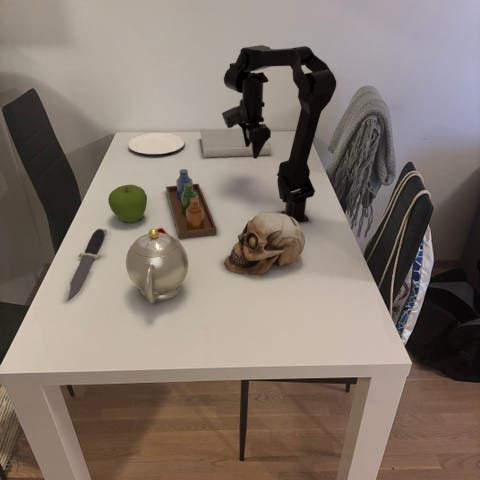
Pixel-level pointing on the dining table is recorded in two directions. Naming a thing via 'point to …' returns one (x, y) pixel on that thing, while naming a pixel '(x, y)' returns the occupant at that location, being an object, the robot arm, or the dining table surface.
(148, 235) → the teapot
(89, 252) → the knife
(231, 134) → the book
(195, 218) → the amber bottle
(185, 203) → the green bottle
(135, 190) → the apple
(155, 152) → the plate
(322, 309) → the dining table surface
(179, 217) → the tray
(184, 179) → the blue bottle
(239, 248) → the skull
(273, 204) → the dining table surface
